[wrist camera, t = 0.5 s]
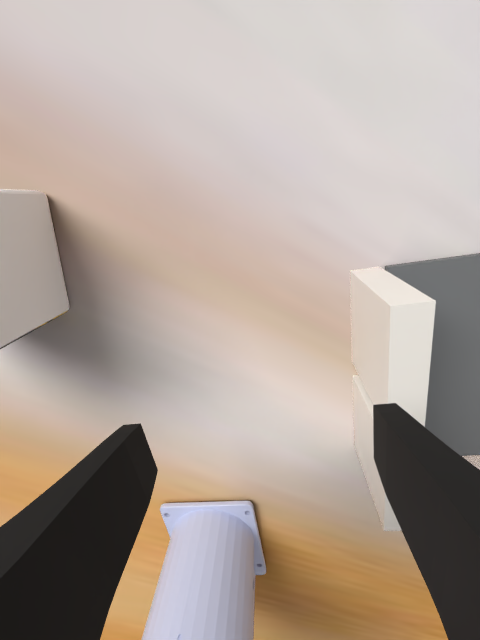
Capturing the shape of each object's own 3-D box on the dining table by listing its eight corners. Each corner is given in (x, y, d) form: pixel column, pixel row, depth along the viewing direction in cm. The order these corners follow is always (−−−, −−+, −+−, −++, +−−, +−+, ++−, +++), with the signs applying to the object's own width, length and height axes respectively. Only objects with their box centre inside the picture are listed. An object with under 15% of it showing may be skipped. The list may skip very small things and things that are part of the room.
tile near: (379, 359, 19) (426, 427, 13) (351, 362, 19) (386, 429, 13) (380, 266, 16) (437, 300, 11) (349, 270, 17) (390, 306, 11)
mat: (477, 450, 21) (481, 454, 20) (381, 455, 21) (383, 459, 21) (513, 248, 15) (519, 249, 15) (385, 266, 16) (387, 267, 16)
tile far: (377, 443, 21) (416, 530, 16) (353, 445, 21) (383, 530, 16) (378, 372, 19) (424, 444, 13) (352, 375, 19) (386, 446, 14)
